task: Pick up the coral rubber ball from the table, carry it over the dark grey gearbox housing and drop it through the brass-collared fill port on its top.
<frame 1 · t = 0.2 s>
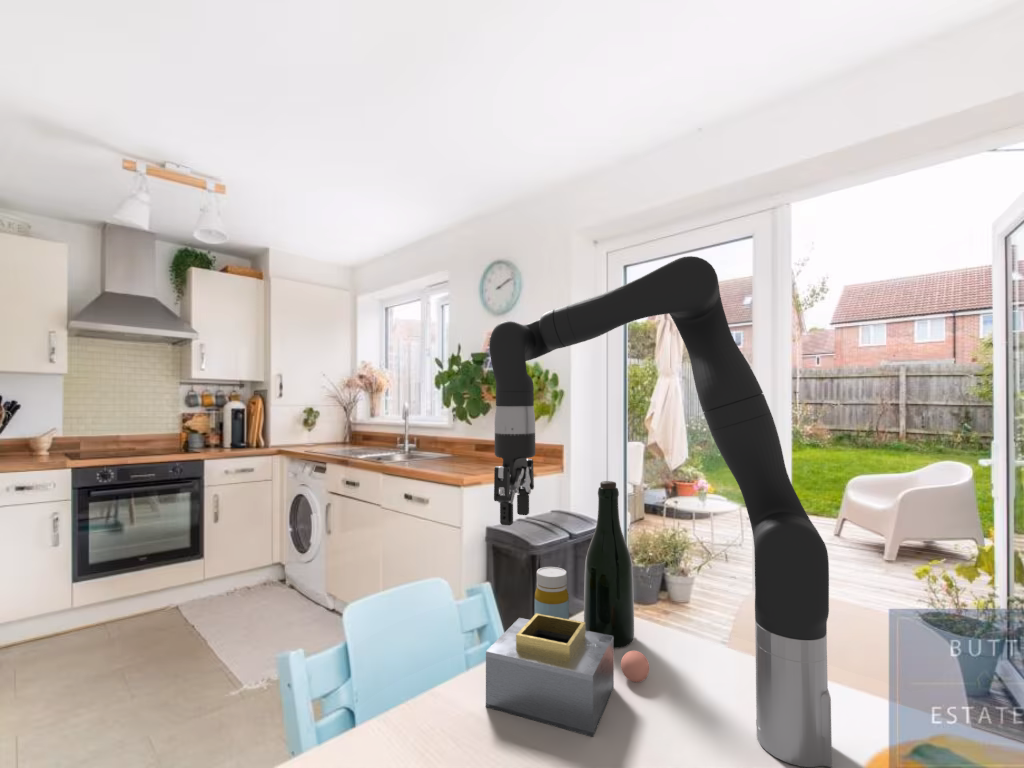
hand: (515, 519, 92), 28 cm above the table, fingers open, 8 cm apart
gearbox: (551, 697, 85), on the table
bottle: (551, 646, 103), on the table
beer bottle: (608, 639, 106), on the table
ball: (635, 666, 90), point 2 cm above the table
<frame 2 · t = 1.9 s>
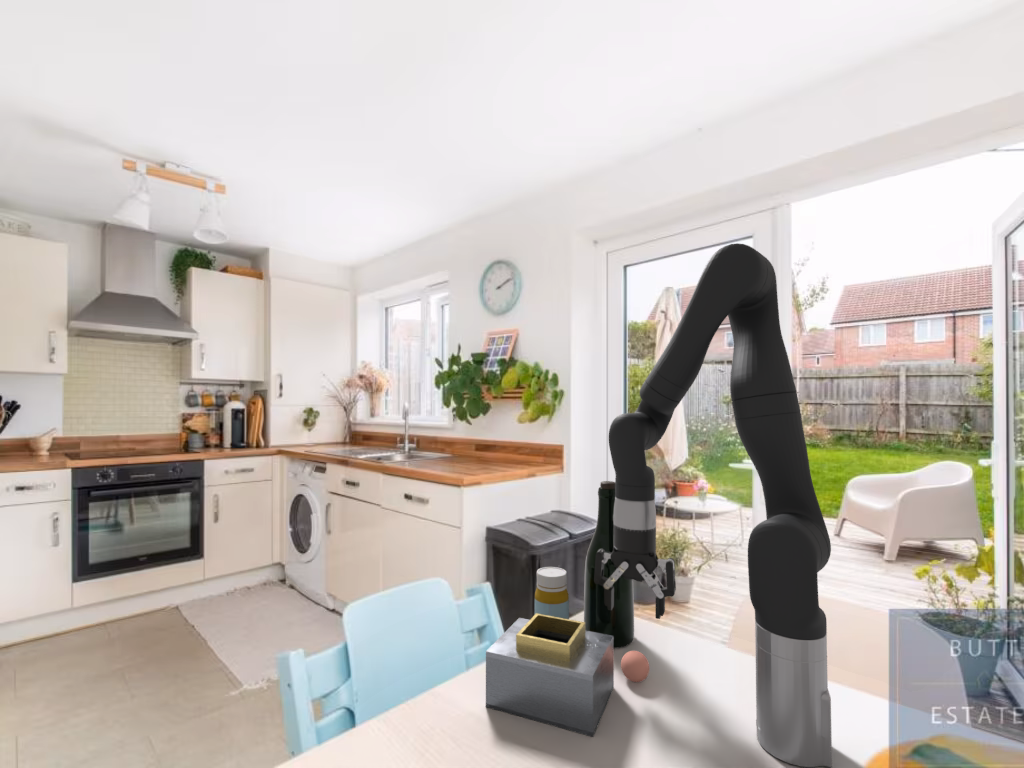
hand: (633, 612, 91), 12 cm above the table, fingers open, 8 cm apart
nothing on the table moved.
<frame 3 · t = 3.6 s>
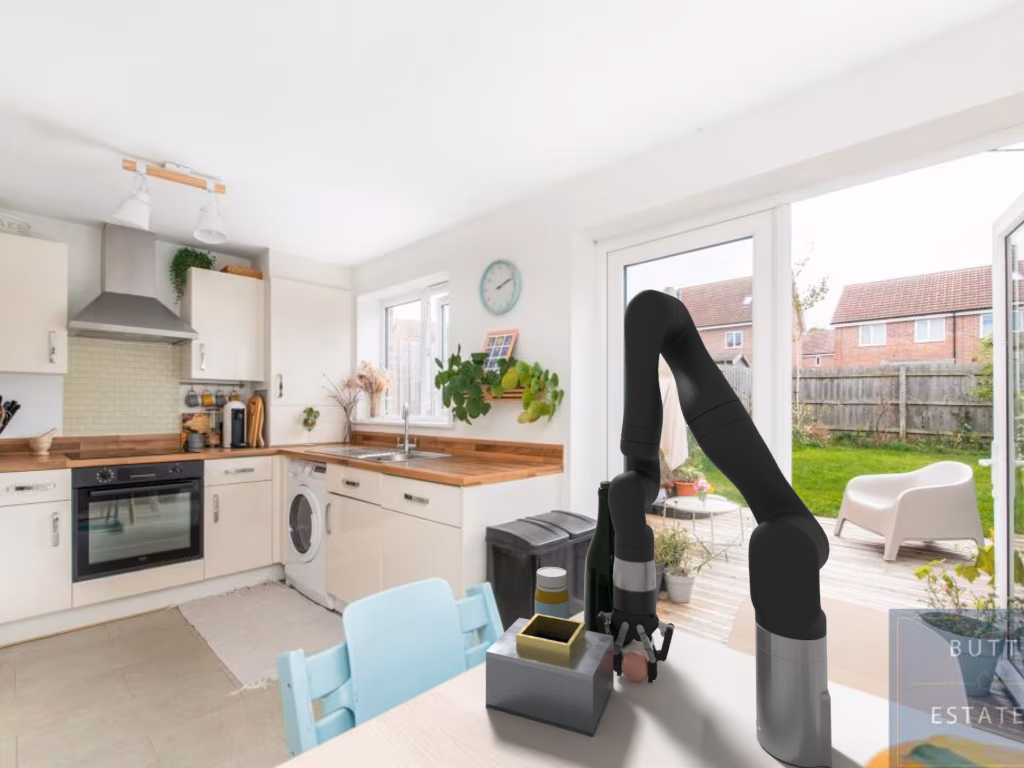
hand: (635, 676, 90), 1 cm above the table, fingers closed on ball, 5 cm apart
ball: (635, 666, 90), point 2 cm above the table, touching gripper
everything else where it was.
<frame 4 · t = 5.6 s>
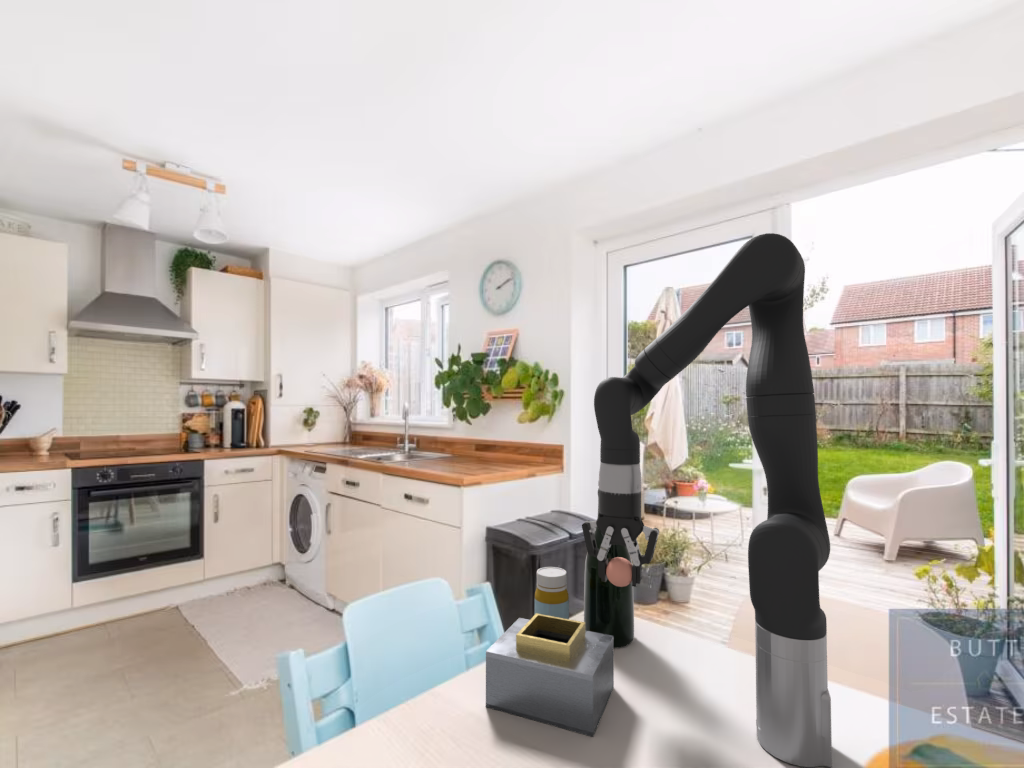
hand: (619, 582, 90), 18 cm above the table, fingers closed on ball, 5 cm apart
ball: (620, 571, 90), point 19 cm above the table, touching gripper
everything else where it was.
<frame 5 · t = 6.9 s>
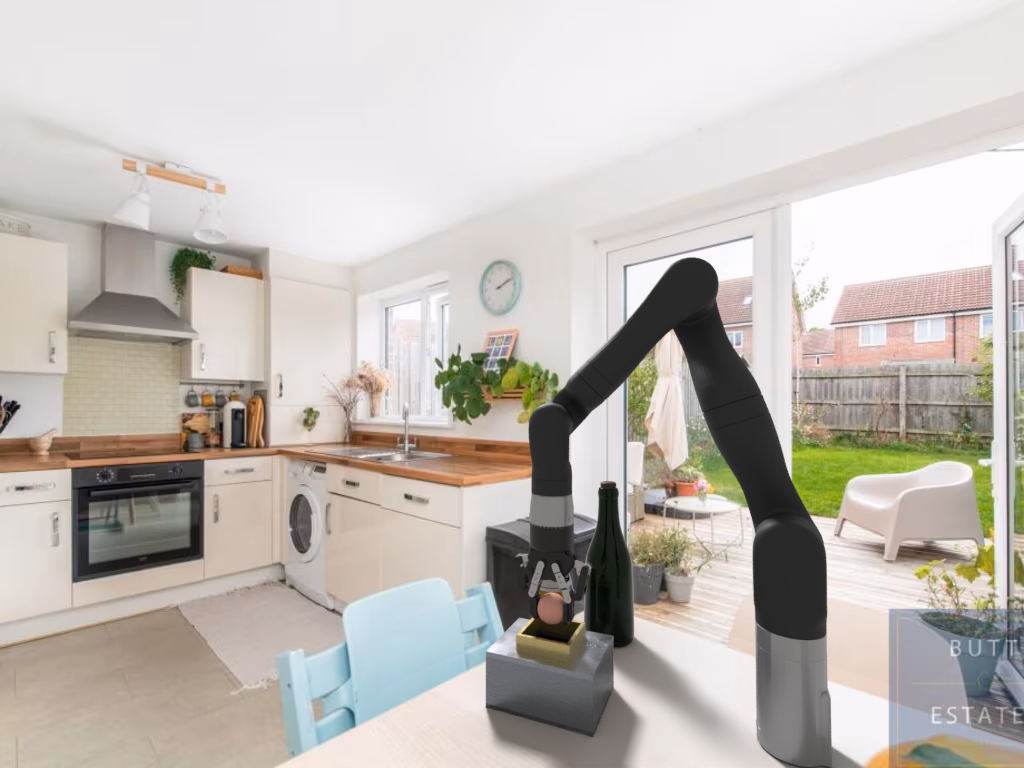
hand: (551, 619, 86), 13 cm above the table, fingers closed on ball, 5 cm apart
ball: (552, 608, 86), point 15 cm above the table, touching gripper
everything else where it was.
when the fingers open (13 cm above the table, at t = 7.6 s): ball drops 12 cm, resting on gearbox.
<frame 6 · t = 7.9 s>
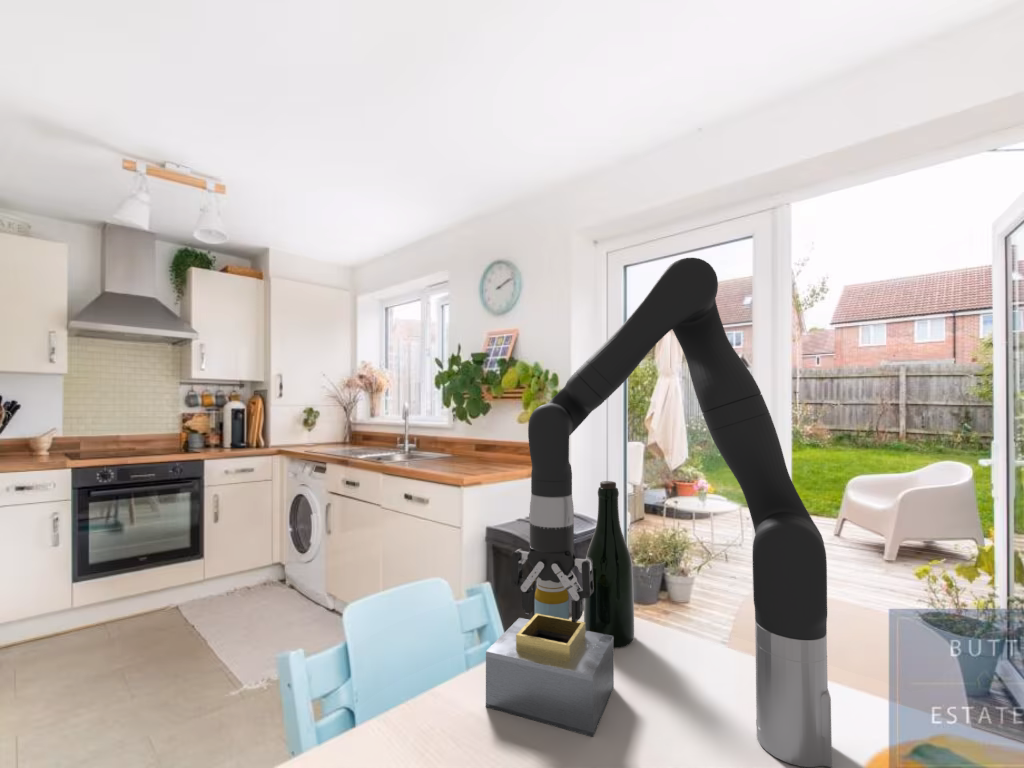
hand: (551, 616, 86), 14 cm above the table, fingers open, 8 cm apart
ball: (552, 678, 85), point 3 cm above the table, touching gearbox
everything else where it was.
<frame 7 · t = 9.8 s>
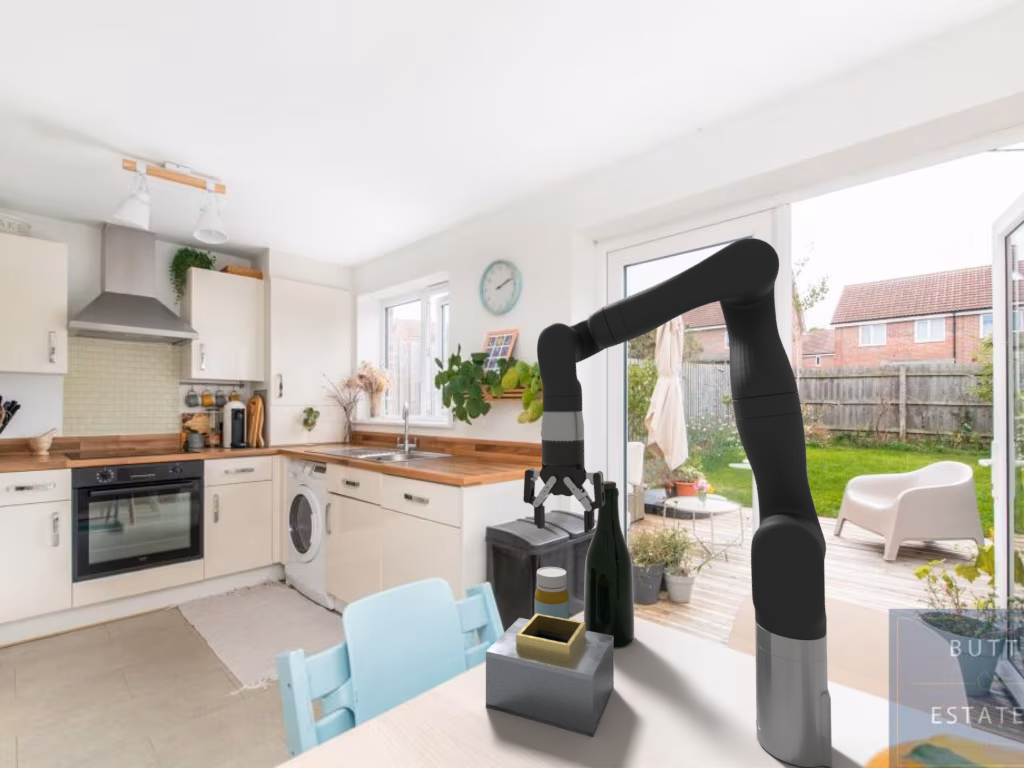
hand: (563, 529, 88), 28 cm above the table, fingers open, 8 cm apart
nothing on the table moved.
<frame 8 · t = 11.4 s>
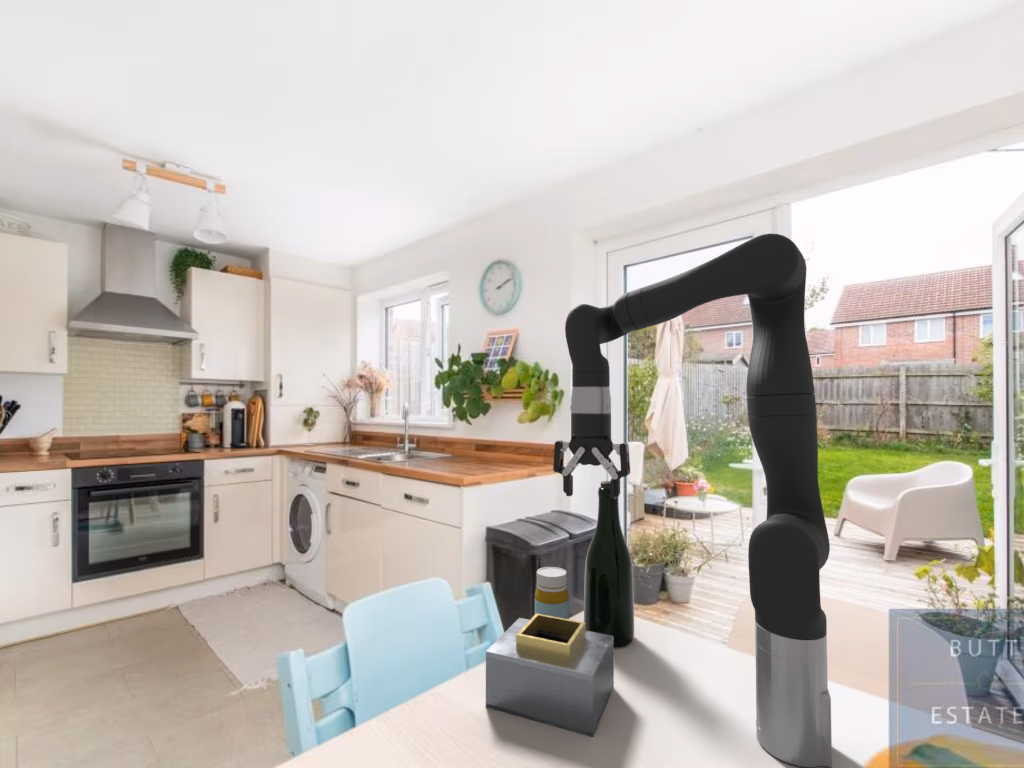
hand: (591, 497, 95), 32 cm above the table, fingers open, 8 cm apart
nothing on the table moved.
at the end: ball inside the target area on the gearbox (0.1 cm from its centre), point 3.1 cm above the gearbox's base; the gripper is holding nothing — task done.
